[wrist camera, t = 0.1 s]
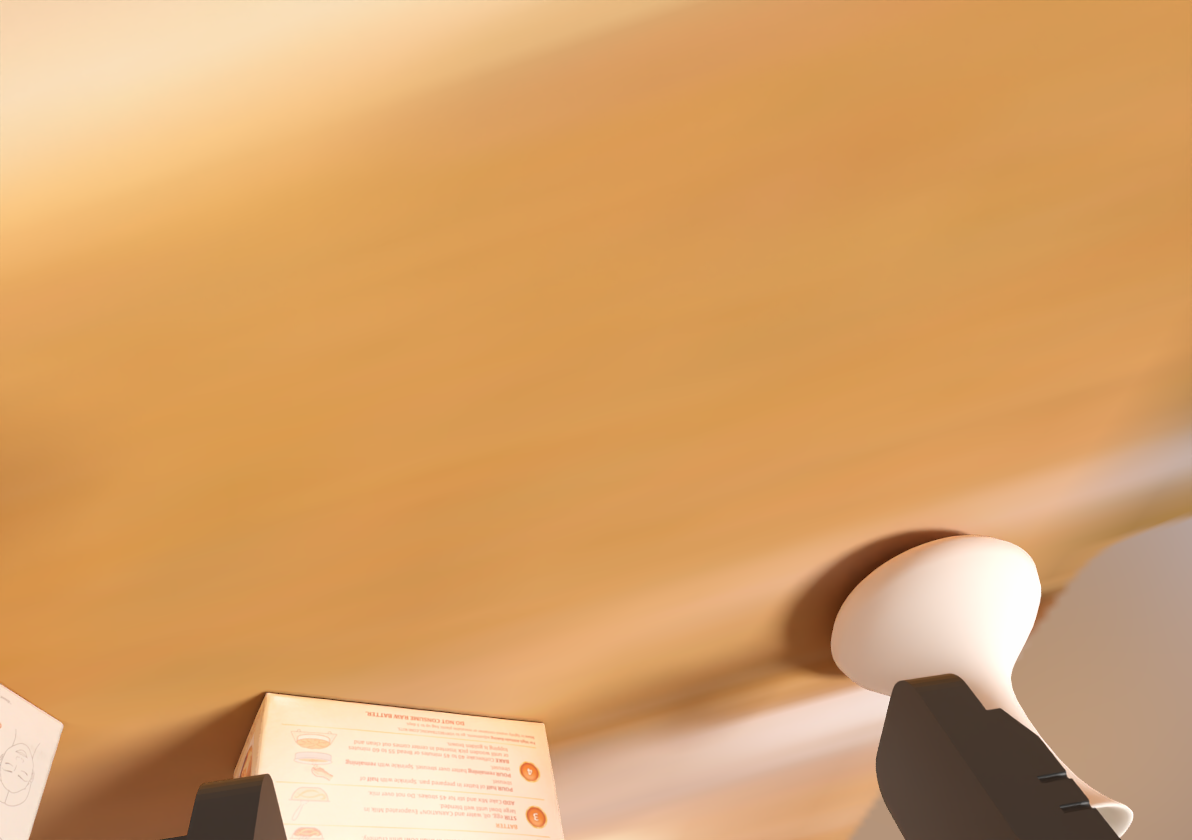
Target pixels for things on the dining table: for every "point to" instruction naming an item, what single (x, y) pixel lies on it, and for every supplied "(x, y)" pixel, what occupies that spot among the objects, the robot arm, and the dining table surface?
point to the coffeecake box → (401, 772)
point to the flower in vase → (950, 627)
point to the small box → (23, 762)
